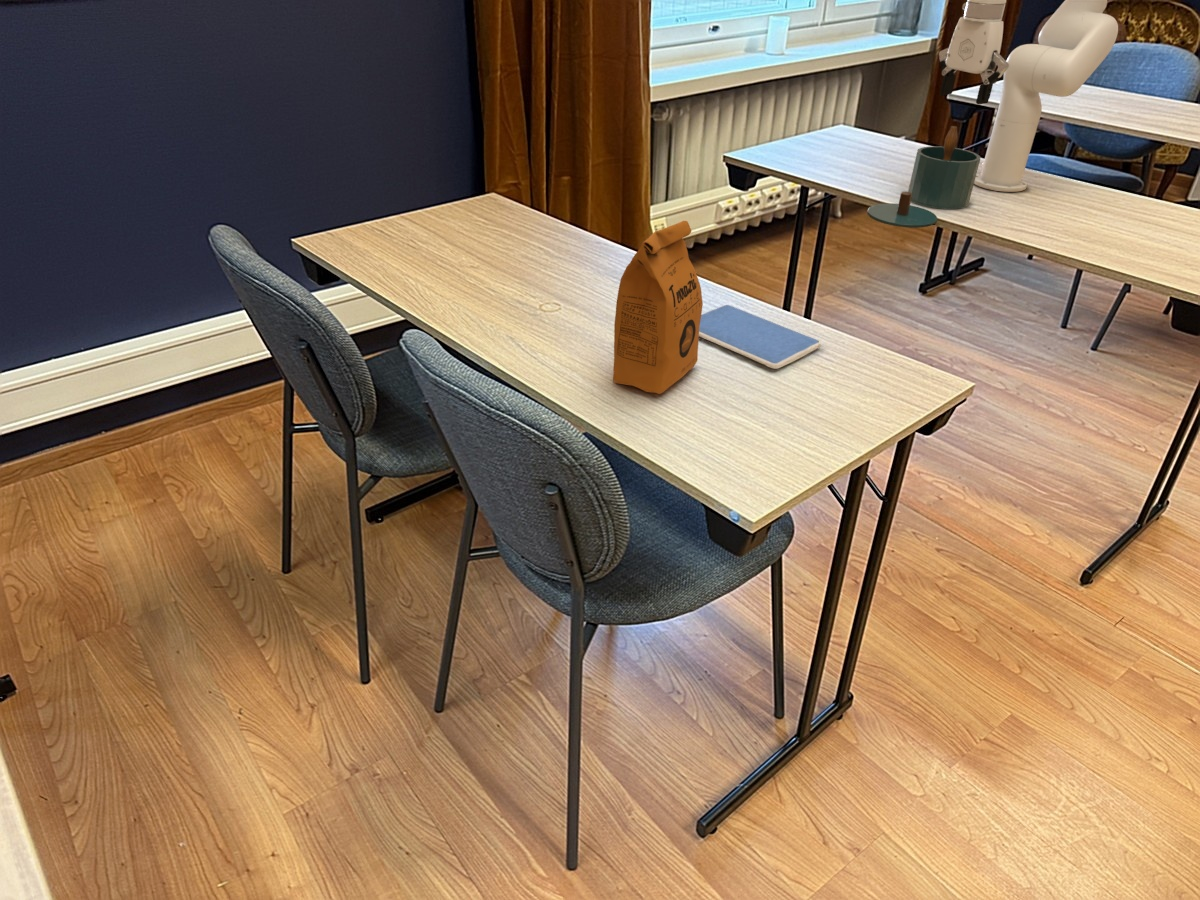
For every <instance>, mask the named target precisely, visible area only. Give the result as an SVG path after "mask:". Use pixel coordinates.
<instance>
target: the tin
mask: <svg viewBox="0 0 1200 900" xmlns="http://www.w3.org/2000/svg"><path fill="white" fill-rule="evenodd" d="M916 151H917V152H916V153H915V154H916V155H915V159H914V164H913V168H912V173H911V176H910V181H909V186H908V190H907V192H911V193H912V194H913V195H912V199H911V202H912V203H913V204H916V205H920V206H922V207H926V208H931V209H937V210H958V209H963V208H966V207H967V206H969V203H970V200H971V195H972V192H973V188H974V185H975V184H974V181H975V178H976V174H978V170H979V166H980V163H981V155H979V154H978V153H976V152H973V151H970V150H967V149H963V148H958V147H955V149H954V151H953V153H952V155H951V159H950V161H947V160H943V158H944V146H942V145H936V146H935V145H932V146H931V145H929V146H922V147H920V148H918V149H917V150H916Z"/></svg>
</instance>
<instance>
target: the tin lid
mask: <svg viewBox="0 0 1200 900" xmlns="http://www.w3.org/2000/svg"><path fill="white" fill-rule="evenodd" d="M899 195H900V196H899V200H898V203H888V202H887V203H878V204H874V205H870V206H869V207H868V209H867V211H866V212H867V215H868V217H869V218H871V219H872V220H873V221H876V222H879V223H882V224H885V225H887V226H893V227H899V228H900V227H901V228H912V229H918V228H927V227H930V226H934V225H935V224H936V223H937V221H938V216H937V215H936V214H935V213H934V212H932V211H930V210H929V209H926V208H923V207H920V206H917V205H916V206H915V205H912V204H911V202H912V201H911V199H912V195H913V194H912V193H911V192H908V191H901V192H900V194H899Z"/></svg>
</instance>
